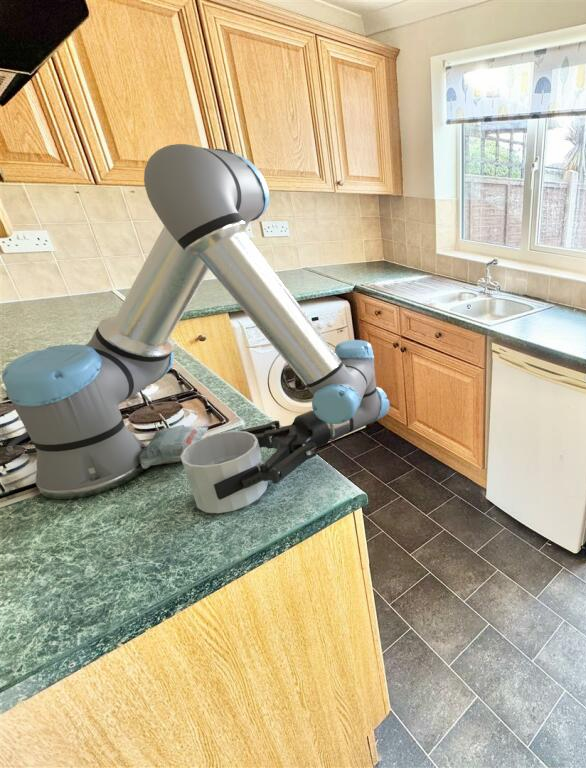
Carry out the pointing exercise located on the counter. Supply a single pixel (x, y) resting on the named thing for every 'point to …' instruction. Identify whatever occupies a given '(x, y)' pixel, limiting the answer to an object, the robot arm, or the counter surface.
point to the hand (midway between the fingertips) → (200, 477)
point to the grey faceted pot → (222, 469)
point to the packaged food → (170, 445)
